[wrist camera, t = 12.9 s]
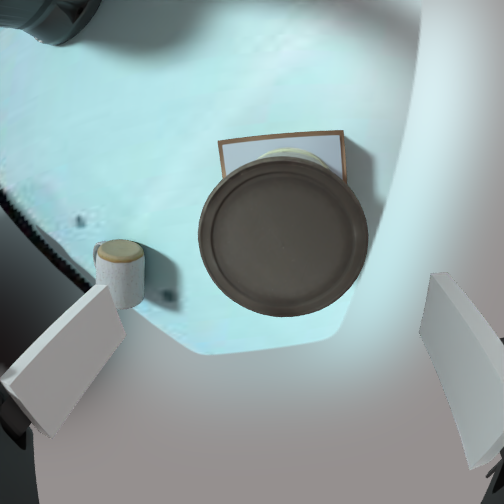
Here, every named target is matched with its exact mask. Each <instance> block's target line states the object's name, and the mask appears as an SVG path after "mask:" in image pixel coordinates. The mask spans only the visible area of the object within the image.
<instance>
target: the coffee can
mask: <svg viewBox="0 0 504 504" xmlns="http://www.w3.org/2000/svg"><path fill="white" fill-rule="evenodd" d="M198 242H199V248H200V253H201V257H202V260H203V263H204V265H205V267H206V269H207V272H208V273H209V275H210V277H211V278H212V280H213V281H214V283H215V284H216V285H217V286H218V288H219V289H220V290H221V291H222V292H223V293H224V294H225V295H226V296H228V297H229V298H230V299H232V300H233V301H234V302H236V303H238V304H239V305H241V306H243V307H245V308H247V309H249V310H252V311H254V312H257V313H260V314H263V315H268V316H274V317H294V316H300V315H305V314H310V313H313V312H316V311H319V310H321V309H323V308H325V307H327V306H329V305H330V304H332V303H333V302H335V301H336V300H337V299H339V298H340V297H341V296H342V295H343V294H344V293H345V292H346V291H347V290H348V289H349V288H350V287H351V286H352V284H353V283H354V282H355V280H356V279H357V277H358V275H359V274H360V272H361V269H362V267H363V265H364V262H365V258H366V254H367V248H368V228H367V222H366V218H365V215H364V212H363V209H362V207H361V205H360V203H359V201H358V199H357V198H356V196H355V194H354V193H353V191H352V190H351V189H350V187H349V186H348V185H347V184H346V183H345V182H344V181H343V180H342V179H341V178H340V177H338V176H337V175H336V174H335V173H333V172H332V171H331V170H330V168H329V167H328V166H327V165H326V164H325V162H323V161H322V160H321V159H320V158H319V157H318V156H316V155H315V154H313V153H311V152H308V151H306V150H303V149H299V148H289V147H287V148H278V149H274V150H272V151H269V152H267V153H265V154H263V155H262V156H260V157H259V158H258V159H256V160H255V161H252V162H249V163H247V164H245V165H242V166H240V167H239V168H237V169H235V170H234V171H232V172H231V173H229V174H228V175H227V176H226V177H225V178H224V179H222V180H221V181H220V182H219V184H218V185H217V186H216V187H215V188H214V189H213V191H212V192H211V194H210V195H209V197H208V199H207V200H206V202H205V205H204V207H203V210H202V213H201V217H200V221H199V228H198Z"/></svg>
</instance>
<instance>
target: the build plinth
mask: <svg viewBox="0 0 504 504" xmlns="http://www.w3.org/2000/svg"><path fill="white" fill-rule="evenodd" d="M218 147H219V155H220V162H221V169H222V177H223V179H224V178H225V177H226V176H227V175H228V174H229V173H231V172H232V171H234V170H235V169H237V168H239V167H240V166H242V165H245V164H247V163H249V162H252V161H255V160H256V159H258V158H259V157H260V156H262V155H263V154H265V153H267V152H269V151H272V150H274V149H278V148H287V147H289V148H299V149H303V150H306V151H308V152H311V153H313V154H315V155H316V156H318V157H319V158H320V159H321V160H322V161H323V162H325V164H326V165H327V166H328V167H329V168H330V170H331V171H332V172H333V173H335V174H336V175H337V176H338V177H340V178H341V179H342V180H343V181H344V182H345V183H346V184H347V173H346V157H345V143H344V131H343V130H334V131H311V132H295V133H282V134H271V135H261V136H252V137H243V138H235V139H228V140H221V141H218Z"/></svg>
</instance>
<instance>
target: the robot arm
mask: <svg viewBox="0 0 504 504" xmlns="http://www.w3.org/2000/svg"><path fill="white" fill-rule="evenodd" d="M100 2H101V0H0V27H6V28H14V29H21V30H23V31H25V32H26V33H28V34H30V35H32V36H33V37H34V38H35V39H36V40H37V41H39V42H41V43H43V44H49V45H58V44H61V43H64V42H66V41H68V40H69V39H71V38H72V37H73V36H75V35H76V34H77V33H78V32H79V31H80V30H81V29H82V28H83V27H84V26H85V25H86V24H87V23H88V22H89V20H90V19H91V18H92V16H93V15H94V13H95V12H96V10H97V8H98V6H99V4H100ZM419 334H420V336H421V338H422V340H423V342H424V345H425V347H426V349H427V351H428V354H429V356H430V358H431V360H432V363H433V365H434V368H435V370H436V372H437V375H438V377H439V380H440V382H441V385H442V387H443V390H444V392H445V395H446V398H447V400H448V403H449V406H450V409H451V411H452V414H453V417H454V420H455V423H456V426H457V429H458V432H459V435H460V438H461V442H462V445H463V448H464V451H465V455H466V459H467V462H468V466H469V470H471V469H474V468H476V467H479V466H481V465H484V464H487V463H489V462H490V461H491V460H492V459H493V458H494V457H495V456H496V455H497V454H498V453H499V452H500V454H501V457H502V459H501V460H500V461H499V462H498V463H497V464H496V465H495V466H494V467H493V468H492V469H491V470H490V471H489V472H488V474H487V475H486V478H488V477H490V476H491V475H492V474H493V473H494V472H495V473H494V475H493V478H492V480H491V483H490V485H489V487H488V489H487V492H486V494H485V496H484V498H483V500H482V502H481V504H504V338H500V339H499V338H498V336H497V335H496V333H495V332H494V330H493V329H492V328H491V327H490V325H489V324H488V322H487V321H486V319H485V318H484V317H483V316H482V314H481V313H480V311H479V310H478V309H477V308H476V306H475V305H474V304H473V302H472V301H471V300H470V299H469V297H468V296H467V295H466V294H465V292H464V291H463V290H462V289H461V288H460V286H459V285H458V284H457V283H456V282H455V280H454V279H453V278H452V277H451V276H450V275H449V273H447V272H444V273H433V274H431V275H430V282H429V288H428V293H427V299H426V304H425V308H424V313H423V317H422V322H421V326H420V330H419ZM125 337H126V333H125V330H124V328H123V325H122V323H121V320H120V318H119V315H118V312H117V310H116V307H115V304H114V302H113V299H112V296H111V293H110V290H109V288H108V285H94V286H93V287H92V288H91V289H90V290H89V291H88V292H87V293H85V294H84V295H83V296H82V297H81V298H80V299H79V300H78V301H77V302H76V303H74V305H72V306H71V307H70V308H69V309H68V310H67V311H66V312H65V313H64V314H63V315H62V316H61V317H60V318H58V319H57V320H56V321H55V322H54V323H53V324H52V325H51V326H50V327H49V328H48V329H47V330H46V331H45V332H44V333H43V334H42V335H41V336H40V337H39V338H38V339H37V340H36V341H35V342H34V343H33V344H32V345H31V346H30V347H29V348H28V349H27V350H26V351H25V352H24V353H23V354H22V355H21V356H20V357H19V358H18V359H17V361H16V362H15V363H14V364H13V365H12V366H11V367H10V368H9V369H8V370H7V371H6V372H5V374H4V375H3V376H2V377H1V378H0V504H39V499H38V491H37V484H36V475H35V464H34V448H33V432H32V430H31V429H30V427H29V425H30V424H31V423H32V424H33V425H34V426H35V427H36V428H37V429H38V431H39V432H40V433H42V434H44V435H46V436H47V437H49V438H51V439H53V438H54V436H55V435H56V433H57V432H58V430H59V429H60V427H61V426H62V424H63V423H64V421H65V420H66V418H67V417H68V415H69V414H70V412H71V411H72V410H73V408H74V407H75V405H76V404H77V402H78V401H79V400H80V398H81V397H82V395H83V394H84V392H85V391H86V389H87V388H88V387H89V385H90V384H91V382H92V381H93V380H94V378H95V377H96V376H97V374H98V373H99V372H100V370H101V369H102V367H103V366H104V365H105V363H106V362H107V360H108V359H109V358H110V356H111V355H112V353H113V352H114V351H115V350H116V348H117V347H118V346H119V344H120V343H121V342H122V340H123V339H124V338H125Z"/></svg>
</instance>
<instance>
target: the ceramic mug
mask: <svg viewBox="0 0 504 504" xmlns="http://www.w3.org/2000/svg"><path fill="white" fill-rule="evenodd" d="M93 260H94V265H95V268H96V285H108V288H109V290H110V293H111V296H112V299H113V302H114V304H115V307H116V309H128V308H132V307H135V306H137V305H138V304H140V303H141V302H142V300H143V298H144V269H145V256H144V251H143V249H142V247H141V246H140V245H138V244H137V243H135V242H133V241H129V240H123V239H117V240H111V241H102V242H98V243H96V244H95V246H94V249H93Z"/></svg>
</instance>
